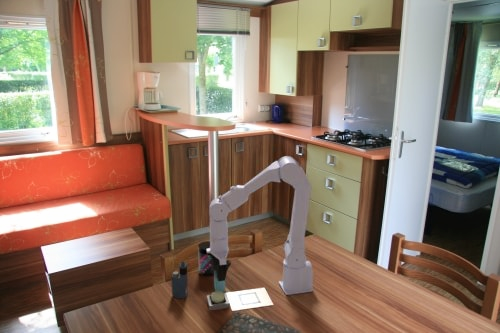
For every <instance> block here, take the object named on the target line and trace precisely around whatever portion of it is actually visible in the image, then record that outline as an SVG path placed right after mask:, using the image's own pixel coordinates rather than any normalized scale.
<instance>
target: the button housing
mask: <svg viewBox="0 0 500 333" xmlns="http://www.w3.org/2000/svg"><path fill="white" fill-rule="evenodd" d="M223 293H224V302H221V303H214V304H213V303H212V300H211V294H207V295H206V301H207V305H208V308H209V311H215V310H223V309H228V308H229V309H230V303H229V301H228V298H227V295H226V293H227V292H223Z"/></svg>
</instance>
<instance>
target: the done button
mask: <svg viewBox="0 0 500 333" xmlns="http://www.w3.org/2000/svg"><path fill="white" fill-rule="evenodd" d="M224 293H225V292H224V291H223V292H221V291H215V290H214V291H213V292H212V293H211V294H210V295H211V303H214V304H219V303H224V302H225V300H224Z"/></svg>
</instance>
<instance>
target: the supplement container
mask: <svg viewBox="0 0 500 333" xmlns="http://www.w3.org/2000/svg"><path fill="white" fill-rule="evenodd" d="M208 248H210V240H209V241H207V240H206V241H202V242H200V243H198V245H197V251H198V252H197V253H198V272H199V274H200V275H202V276H204V277H212V276H214V271H216V270H214V267H213V263H212V257H211V255H210V253H207V251H206V249H208Z"/></svg>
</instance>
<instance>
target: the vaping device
mask: <svg viewBox="0 0 500 333" xmlns="http://www.w3.org/2000/svg"><path fill="white" fill-rule="evenodd" d="M178 269H179V270H176V271H173V272H172V275H171V277H170V278H171V295H172V297H173V298H176V299H177V298H178V299H186V298H187V297H188V296H189V295H188V293H189V292H188V282H189V281H188V280H189V278H188V264H187V263H186V262H185V261H181V263H180V264H179V267H178Z"/></svg>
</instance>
